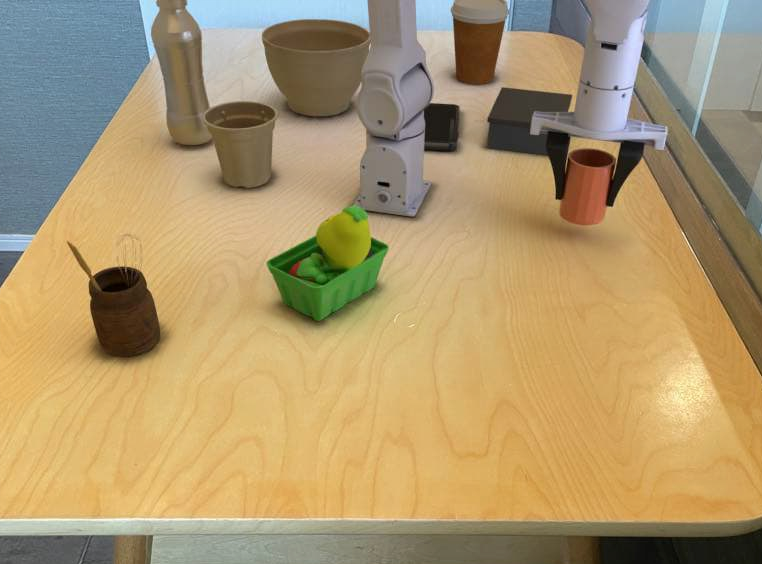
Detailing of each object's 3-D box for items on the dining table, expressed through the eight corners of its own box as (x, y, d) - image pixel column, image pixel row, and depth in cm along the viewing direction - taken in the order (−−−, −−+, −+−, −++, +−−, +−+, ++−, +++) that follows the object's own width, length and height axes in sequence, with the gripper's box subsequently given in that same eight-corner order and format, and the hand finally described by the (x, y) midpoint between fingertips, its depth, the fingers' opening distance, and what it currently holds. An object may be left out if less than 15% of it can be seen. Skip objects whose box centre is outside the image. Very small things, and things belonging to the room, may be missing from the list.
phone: (401, 141, 115) (409, 101, 126) (401, 148, 116) (409, 109, 127) (457, 143, 115) (460, 104, 126) (457, 151, 115) (460, 111, 127)
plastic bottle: (207, 152, 114) (185, -2, 101) (162, 148, 115) (134, -6, 102) (223, 134, 119) (204, -15, 106) (180, 130, 120) (156, -19, 107)
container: (558, 157, 115) (563, 126, 112) (484, 148, 116) (487, 117, 114) (567, 124, 124) (572, 94, 121) (498, 116, 126) (501, 86, 123)
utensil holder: (173, 341, 80) (151, 232, 72) (115, 368, 77) (86, 256, 69) (142, 316, 84) (118, 209, 76) (85, 340, 80) (54, 231, 72)
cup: (602, 228, 94) (614, 170, 89) (556, 221, 95) (566, 164, 90) (605, 207, 97) (617, 151, 93) (561, 201, 98) (570, 145, 94)
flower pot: (196, 184, 106) (186, 119, 101) (239, 158, 113) (232, 95, 107) (255, 201, 103) (248, 134, 98) (296, 172, 110) (292, 109, 104)
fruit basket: (339, 262, 92) (336, 168, 85) (400, 290, 88) (402, 193, 81) (266, 305, 85) (256, 206, 78) (328, 337, 81) (323, 236, 74)
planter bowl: (360, 130, 121) (359, 54, 114) (255, 122, 123) (247, 46, 115) (379, 92, 133) (379, 21, 126) (283, 85, 135) (278, 14, 127)
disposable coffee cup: (437, 72, 140) (440, -3, 132) (485, 65, 143) (491, -9, 136) (463, 91, 134) (468, 12, 126) (513, 83, 137) (521, 6, 129)
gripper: (677, 75, 87) (649, 192, 96) (542, 61, 90) (527, 176, 99) (677, 98, 82) (647, 220, 91) (534, 83, 85) (519, 202, 94)
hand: (584, 199), depth 95 cm, fingers closed on cup, 5 cm apart
